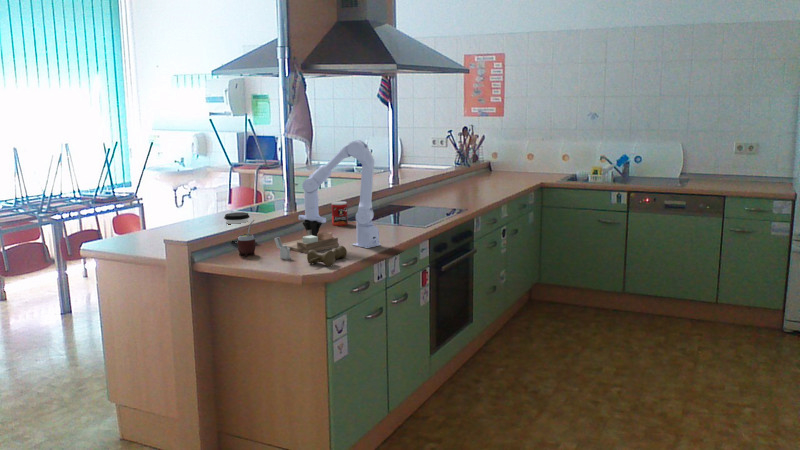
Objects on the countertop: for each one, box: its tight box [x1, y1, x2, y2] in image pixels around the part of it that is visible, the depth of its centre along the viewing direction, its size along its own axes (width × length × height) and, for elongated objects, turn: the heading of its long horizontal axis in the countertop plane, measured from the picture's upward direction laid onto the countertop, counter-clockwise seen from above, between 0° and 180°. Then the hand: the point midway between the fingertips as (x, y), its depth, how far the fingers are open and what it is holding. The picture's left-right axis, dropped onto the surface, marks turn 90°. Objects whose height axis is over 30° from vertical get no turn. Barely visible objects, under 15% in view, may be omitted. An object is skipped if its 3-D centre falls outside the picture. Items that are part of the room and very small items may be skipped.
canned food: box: [331, 200, 349, 227], centre depth 340 cm, size 8×8×11 cm
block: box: [301, 235, 318, 244], centre depth 284 cm, size 4×4×4 cm
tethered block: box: [306, 230, 334, 241], centre depth 291 cm, size 11×5×5 cm, turn 46°
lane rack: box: [281, 236, 340, 254], centre depth 291 cm, size 19×17×4 cm
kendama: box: [306, 245, 348, 267], centre depth 263 cm, size 6×10×20 cm
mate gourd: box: [236, 219, 256, 258], centre depth 276 cm, size 8×8×15 cm
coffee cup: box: [223, 211, 250, 225], centre depth 304 cm, size 11×11×12 cm
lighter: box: [273, 236, 291, 260], centre depth 271 cm, size 7×2×8 cm, turn 52°
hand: (312, 237), depth 295 cm, fingers closed on tethered block, 2 cm apart
